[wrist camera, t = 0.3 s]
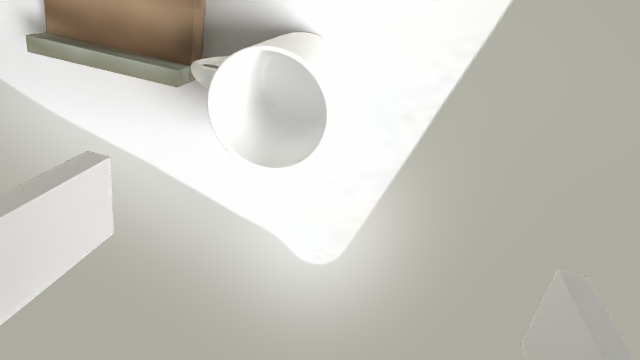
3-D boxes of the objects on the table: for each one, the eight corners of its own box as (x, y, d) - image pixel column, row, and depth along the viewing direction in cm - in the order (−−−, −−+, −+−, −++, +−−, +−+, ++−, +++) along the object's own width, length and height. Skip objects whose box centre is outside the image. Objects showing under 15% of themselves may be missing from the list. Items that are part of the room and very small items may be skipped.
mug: (234, 2, 37) (171, 7, 28) (366, 51, 37) (349, 73, 27) (214, 96, 41) (152, 129, 31) (334, 141, 41) (308, 189, 31)
